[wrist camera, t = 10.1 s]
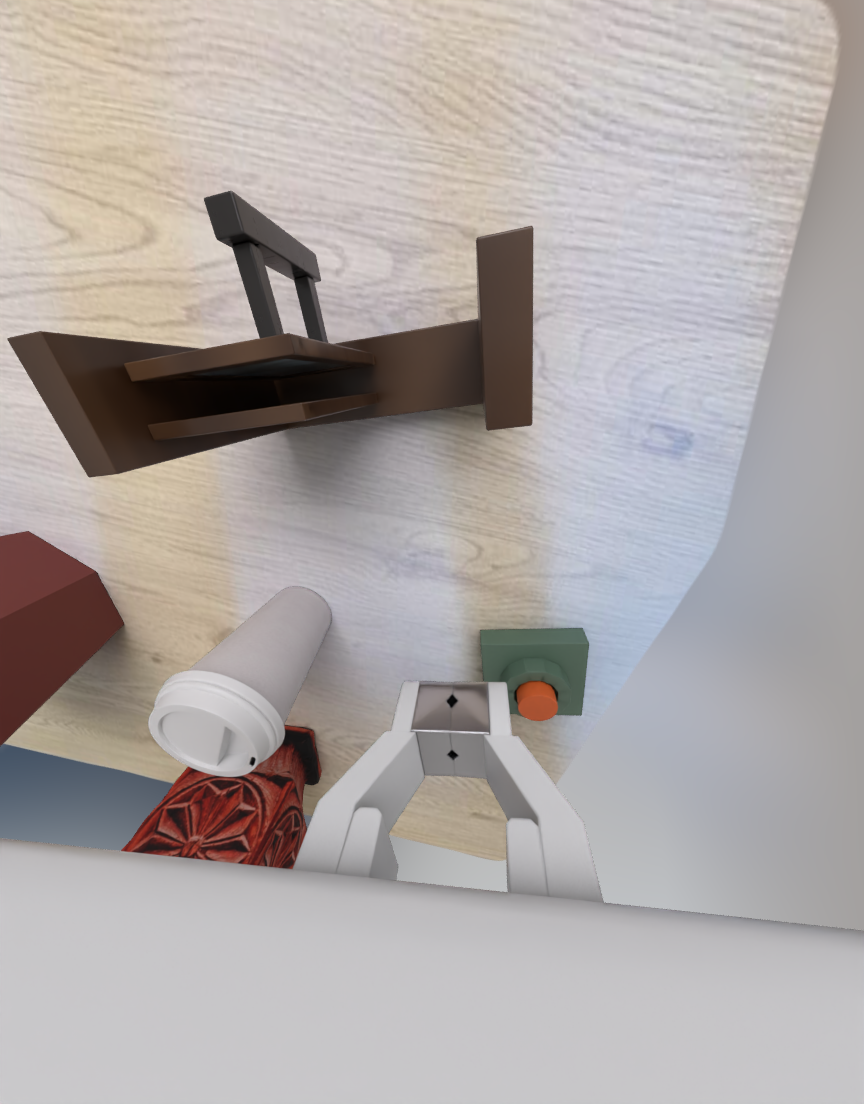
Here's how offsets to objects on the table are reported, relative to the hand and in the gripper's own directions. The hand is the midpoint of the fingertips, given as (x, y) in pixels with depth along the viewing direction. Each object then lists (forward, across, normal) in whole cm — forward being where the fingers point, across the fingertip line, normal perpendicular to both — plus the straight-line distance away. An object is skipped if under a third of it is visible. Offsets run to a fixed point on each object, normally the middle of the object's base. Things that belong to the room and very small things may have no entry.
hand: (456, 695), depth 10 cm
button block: (+21, -5, +20) cm, 29 cm away
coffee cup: (+21, +19, +12) cm, 31 cm away
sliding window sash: (+19, +10, -13) cm, 25 cm away
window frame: (+21, +6, -9) cm, 23 cm away
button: (+17, -5, +20) cm, 27 cm away
